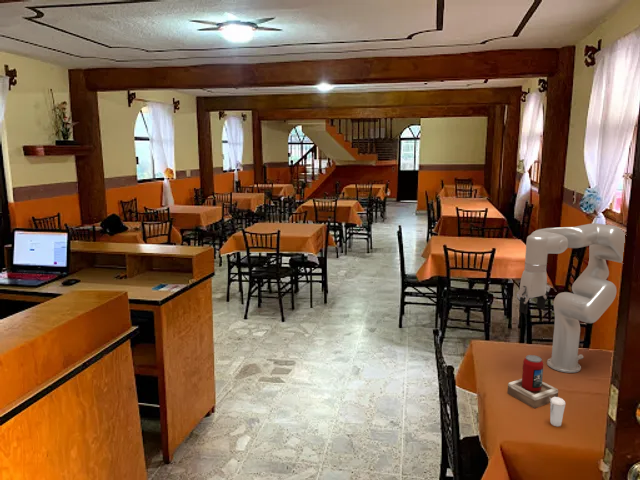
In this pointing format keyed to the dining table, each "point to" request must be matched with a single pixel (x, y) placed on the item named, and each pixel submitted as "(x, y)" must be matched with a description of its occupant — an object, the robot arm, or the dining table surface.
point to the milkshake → (556, 411)
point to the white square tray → (532, 394)
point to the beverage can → (532, 373)
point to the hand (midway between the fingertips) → (532, 310)
